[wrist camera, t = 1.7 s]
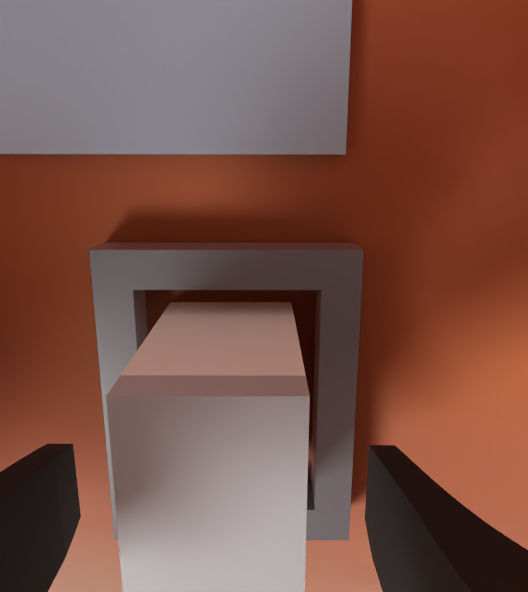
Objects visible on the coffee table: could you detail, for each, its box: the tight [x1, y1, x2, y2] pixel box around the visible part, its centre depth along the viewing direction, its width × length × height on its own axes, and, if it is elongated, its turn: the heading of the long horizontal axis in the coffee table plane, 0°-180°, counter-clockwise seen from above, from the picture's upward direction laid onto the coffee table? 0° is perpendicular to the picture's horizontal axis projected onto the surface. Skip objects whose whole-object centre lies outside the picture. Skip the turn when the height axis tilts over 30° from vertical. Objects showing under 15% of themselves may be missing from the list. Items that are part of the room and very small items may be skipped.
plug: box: [106, 302, 310, 592], centre depth 14 cm, size 4×6×7 cm, turn 0°
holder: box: [89, 242, 364, 540], centre depth 17 cm, size 8×10×2 cm
